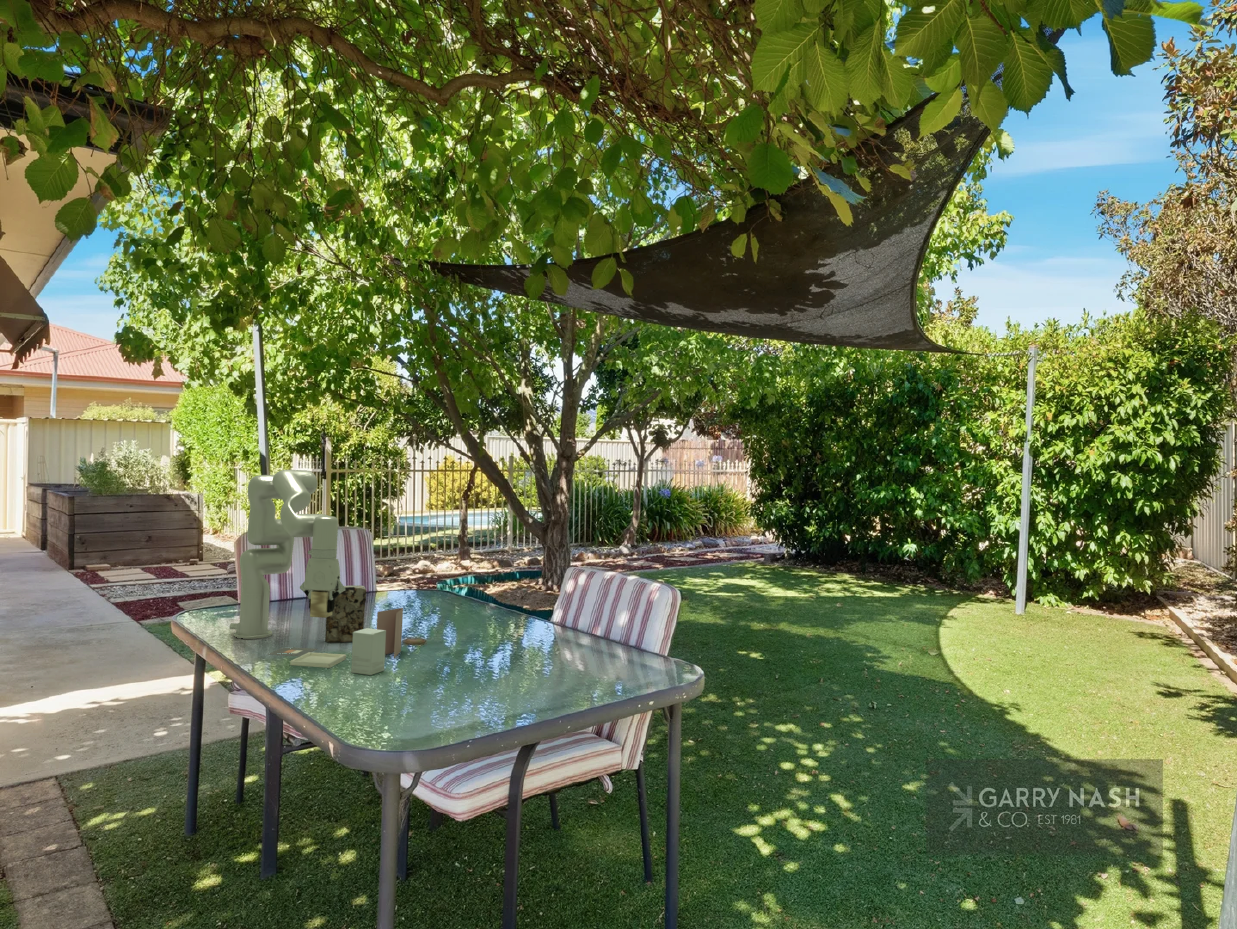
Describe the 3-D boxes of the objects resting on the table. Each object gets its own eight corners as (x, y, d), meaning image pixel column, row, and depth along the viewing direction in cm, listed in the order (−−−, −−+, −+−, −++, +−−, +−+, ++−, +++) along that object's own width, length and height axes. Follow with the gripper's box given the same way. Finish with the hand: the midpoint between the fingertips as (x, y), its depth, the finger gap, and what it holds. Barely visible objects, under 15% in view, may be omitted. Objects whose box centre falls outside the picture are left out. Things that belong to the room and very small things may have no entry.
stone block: (361, 638, 290) (364, 584, 291) (364, 642, 284) (367, 587, 284) (323, 640, 284) (326, 585, 284) (326, 644, 278) (329, 587, 278)
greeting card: (399, 650, 274) (401, 607, 274) (414, 653, 270) (416, 610, 271) (373, 656, 264) (375, 611, 265) (389, 659, 260) (391, 614, 261)
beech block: (310, 616, 251) (311, 591, 251) (317, 614, 256) (318, 589, 256) (325, 617, 250) (326, 592, 250) (332, 615, 255) (333, 590, 255)
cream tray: (289, 665, 247) (290, 660, 247) (308, 656, 260) (308, 652, 260) (329, 668, 246) (329, 663, 246) (345, 659, 259) (346, 654, 259)
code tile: (266, 655, 259) (266, 654, 259) (284, 647, 271) (284, 646, 271) (301, 657, 258) (301, 656, 258) (318, 649, 270) (318, 648, 270)
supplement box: (385, 670, 247) (387, 630, 247) (370, 675, 240) (372, 634, 240) (365, 667, 249) (367, 627, 249) (350, 672, 242) (352, 631, 242)
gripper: (292, 554, 250) (290, 612, 250) (345, 557, 249) (342, 614, 249) (304, 552, 258) (301, 608, 257) (354, 554, 256) (352, 611, 256)
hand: (321, 610), depth 253 cm, fingers closed on beech block, 5 cm apart
